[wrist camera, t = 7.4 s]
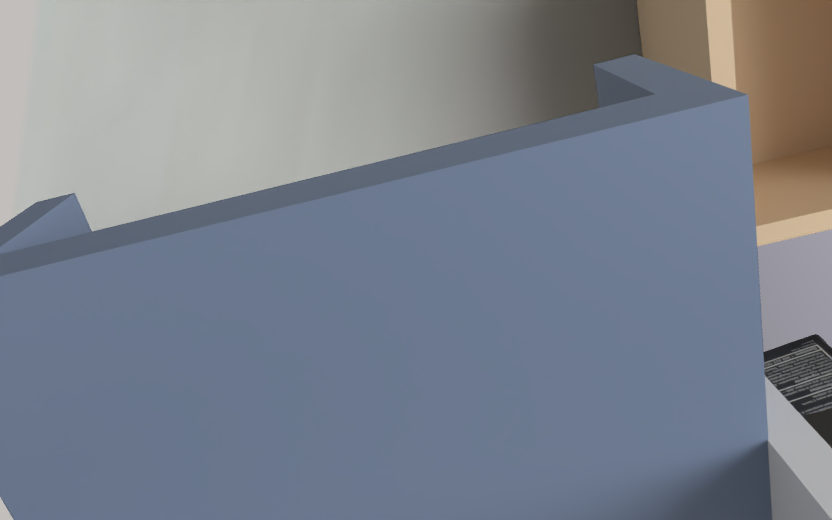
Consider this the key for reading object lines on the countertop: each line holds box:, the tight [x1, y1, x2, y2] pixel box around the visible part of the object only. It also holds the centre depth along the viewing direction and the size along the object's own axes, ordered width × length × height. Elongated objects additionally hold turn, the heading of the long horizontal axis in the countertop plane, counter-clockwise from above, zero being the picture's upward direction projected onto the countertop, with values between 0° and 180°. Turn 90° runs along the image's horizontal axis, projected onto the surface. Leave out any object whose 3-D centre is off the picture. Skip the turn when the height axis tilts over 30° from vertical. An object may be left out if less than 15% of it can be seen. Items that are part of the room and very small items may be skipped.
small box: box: [763, 334, 832, 415], centre depth 33 cm, size 11×6×10 cm, turn 112°
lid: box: [0, 54, 772, 520], centre depth 14 cm, size 14×12×5 cm
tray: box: [636, 0, 832, 246], centre depth 27 cm, size 12×9×7 cm
